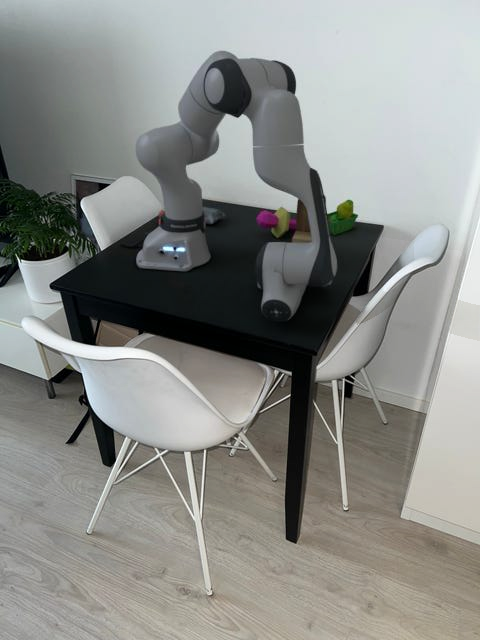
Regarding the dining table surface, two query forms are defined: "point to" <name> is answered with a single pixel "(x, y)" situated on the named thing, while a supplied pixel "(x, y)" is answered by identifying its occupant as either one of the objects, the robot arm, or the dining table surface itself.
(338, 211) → the fruit basket
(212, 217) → the packaged food
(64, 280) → the dining table surface
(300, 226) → the block
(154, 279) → the dining table surface
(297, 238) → the maple block
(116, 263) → the dining table surface
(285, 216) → the toy
